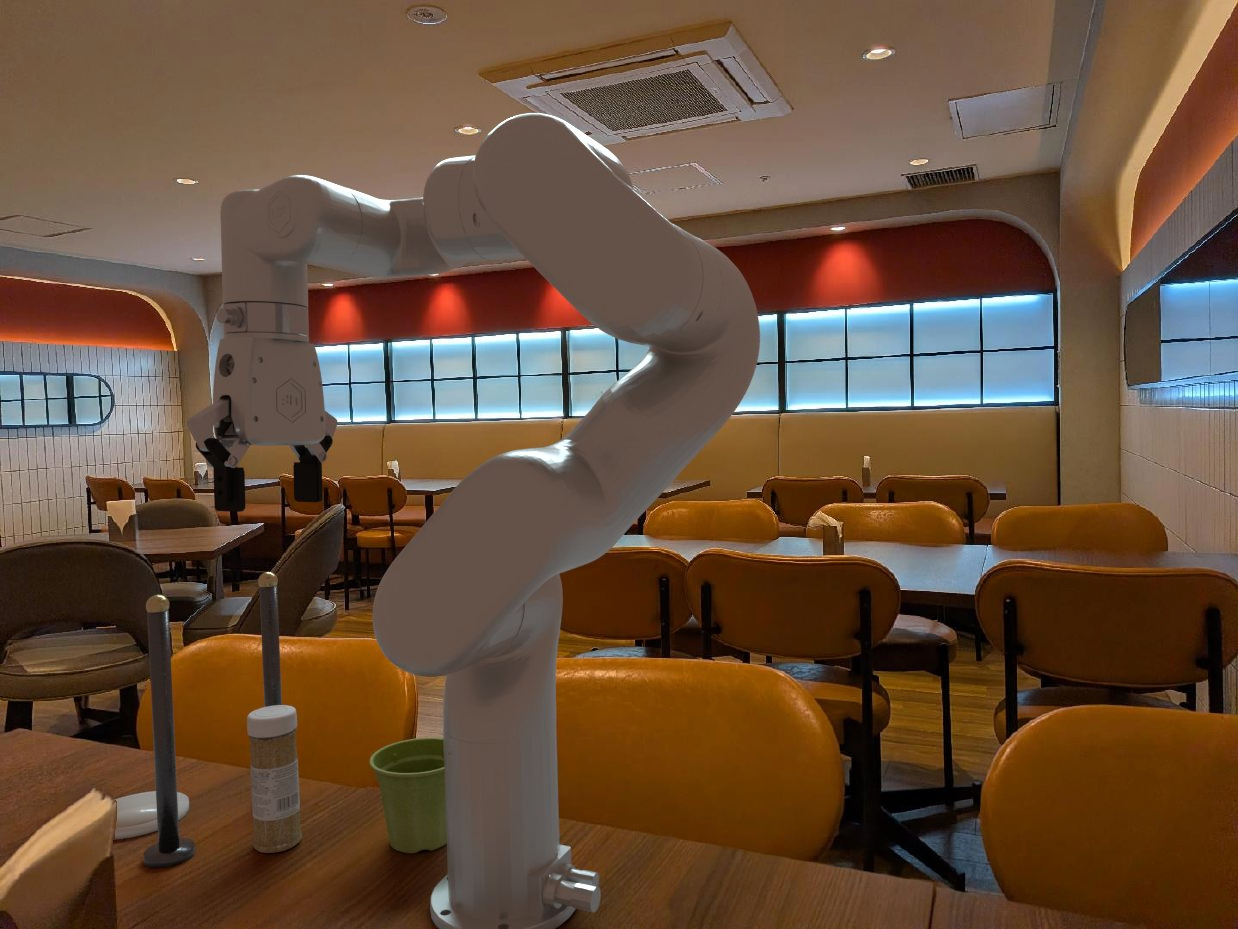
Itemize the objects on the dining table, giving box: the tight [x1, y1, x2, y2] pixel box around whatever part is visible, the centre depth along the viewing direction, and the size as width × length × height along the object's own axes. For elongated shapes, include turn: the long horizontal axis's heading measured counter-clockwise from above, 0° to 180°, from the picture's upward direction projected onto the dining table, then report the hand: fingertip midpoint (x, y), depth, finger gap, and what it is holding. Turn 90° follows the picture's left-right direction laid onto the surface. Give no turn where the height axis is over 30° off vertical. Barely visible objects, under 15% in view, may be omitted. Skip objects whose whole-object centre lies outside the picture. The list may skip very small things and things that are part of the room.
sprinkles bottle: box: [246, 704, 303, 854], centre depth 85 cm, size 5×5×13 cm
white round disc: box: [114, 790, 190, 840], centre depth 92 cm, size 10×10×1 cm
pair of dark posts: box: [142, 571, 283, 869], centre depth 89 cm, size 4×18×26 cm, turn 156°
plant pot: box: [369, 737, 447, 854], centre depth 86 cm, size 9×9×9 cm
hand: (271, 506), depth 83 cm, fingers open, 9 cm apart
